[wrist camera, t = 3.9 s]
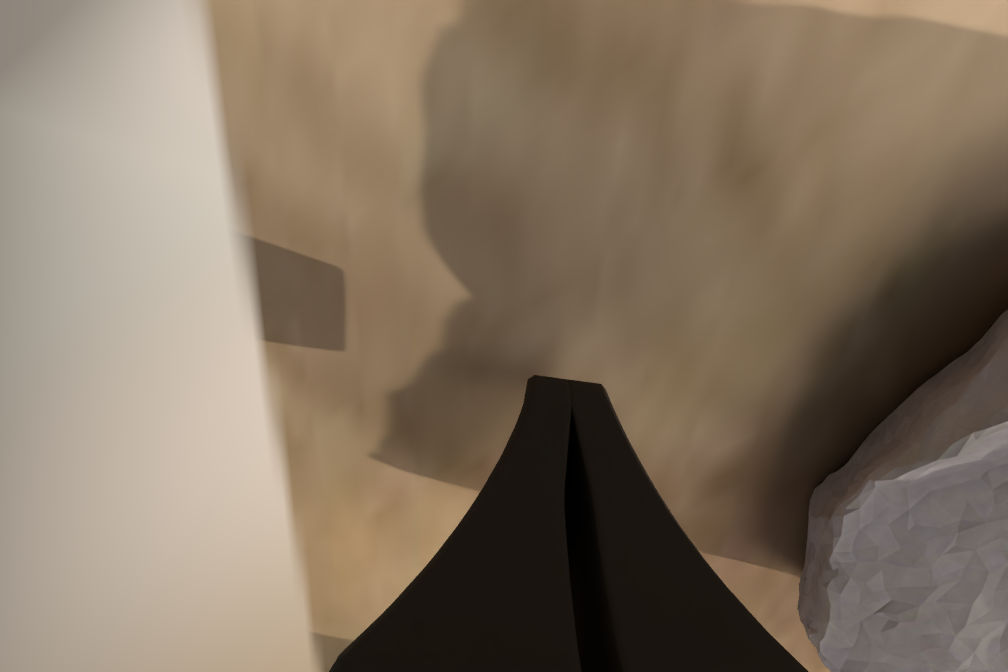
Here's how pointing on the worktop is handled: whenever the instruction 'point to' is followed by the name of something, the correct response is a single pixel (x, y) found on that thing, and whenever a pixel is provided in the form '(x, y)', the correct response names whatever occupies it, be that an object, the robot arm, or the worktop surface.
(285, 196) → the worktop surface
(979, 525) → the grey rock
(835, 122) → the worktop surface
